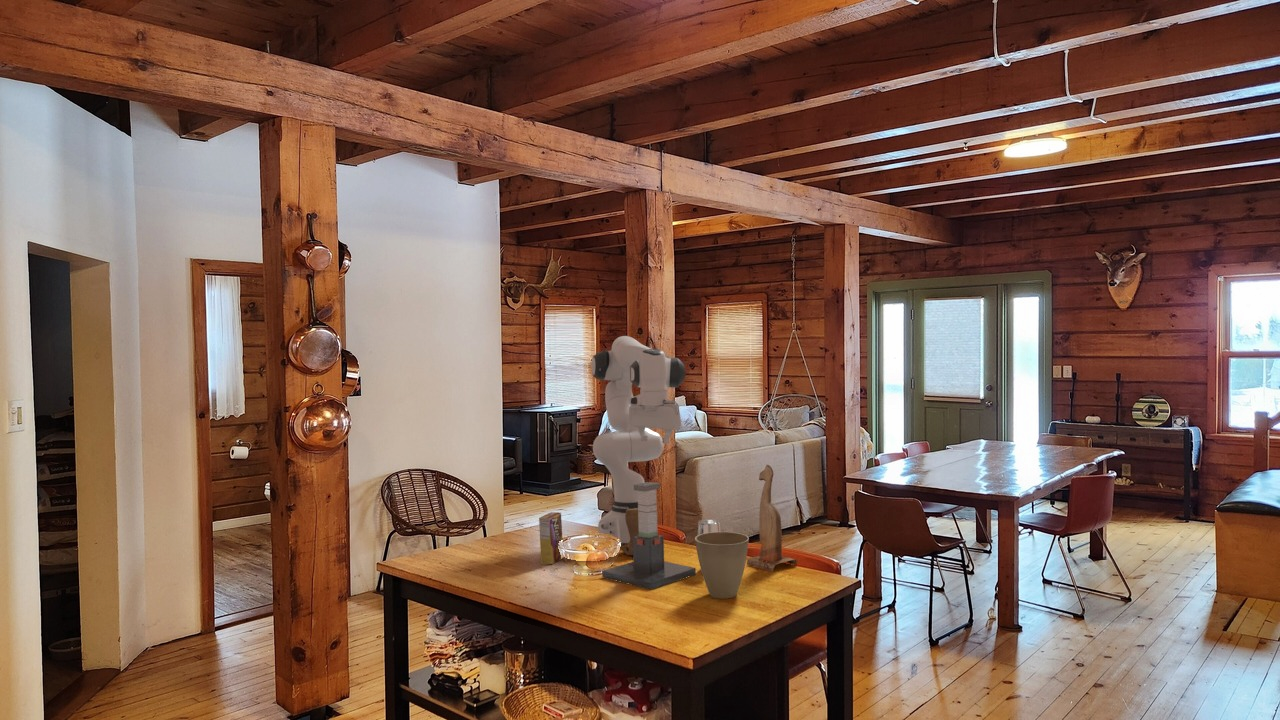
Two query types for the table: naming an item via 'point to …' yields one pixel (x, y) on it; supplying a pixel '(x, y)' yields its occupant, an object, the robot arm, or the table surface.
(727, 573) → the plant pot
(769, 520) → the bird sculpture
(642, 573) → the stand
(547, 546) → the candy box
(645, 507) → the light grey tall block
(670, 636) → the table surface
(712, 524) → the beer glass
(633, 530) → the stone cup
